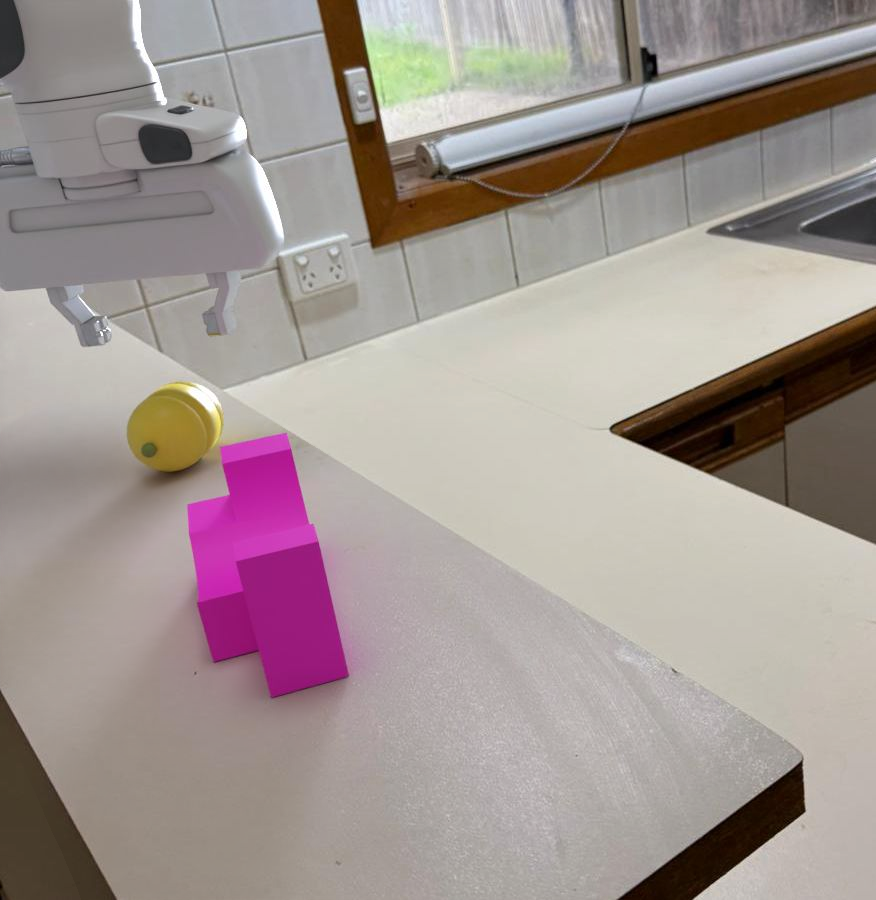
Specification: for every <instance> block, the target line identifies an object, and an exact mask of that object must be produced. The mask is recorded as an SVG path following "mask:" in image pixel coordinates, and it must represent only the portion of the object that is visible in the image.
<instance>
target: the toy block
mask: <svg viewBox="0 0 876 900" xmlns="http://www.w3.org/2000/svg"><path fill="white" fill-rule="evenodd" d="M219 450H220V457H221V465H222V469H223V473H224V478H225V481H226V486H227V489H228V494H227V495H223V496H217V497H213V498H209V499H205V500H200V501H195V502H191V503H188V504H186V505H187V506H186V508H187V510H186V511H187V526H188V528H187V529H188V537H189V541H190V547H191V551H192V557H193V562H194V569H195V576H196V583H197V602H196V605H197V610H198V613H199V617H200V620H201V623H202V626H203V631H204V634H205V639H206V641H207V644H208V648H209V649H208V650H209V652H210V655H211V659H212V662H213V663H216V662H219V661H224V660H226V659H227V660H228V659H230V658H234V657H238V656H242V655H246V654H251V653H253V652H258V653H259V656H260V660H261V664H262V668H263V672H264V676H265V680H266V683H267V687H268V691H269V695H270V698H271V699H272V698H275V697H279V696H283V695H286V694H289V693H290V694H291V693H293V692H297V691H301V690H304V689H307V688H311V687H315V686H318V685H322V684H325V683H329V682H333V681H336V680H340V679H344V678H346V677H349V676H350V673H349V670H348V665H347V661H346V657H345V652H344V649H343V644H342V639H341V634H340V629H339V626H338V621H337V617H336V613H335V607H334V603H333V599H332V594H331V591H330V585H329V582H328V577H327V572H326V567H325V563H324V559H323V554H322V550H321V545H320V540H319V538H318V534H317V530H316V528H315V524H314V523H310V521H309V517H308V514H307V513H308V512H307V509H306V505H305V501H304V497H303V491H302V487H301V485H300V480H299V476H298V471H297V467H296V463H295V459H294V455H293V450H292V446H291V443H290V440H289V436H288V433H287V432H282V433H278V434H274V435H269V436H264V437H260V438H256V439H255V438H254V439H250V440H246V441H241V442H237V443H231V444H227V445H222V446H219Z"/></svg>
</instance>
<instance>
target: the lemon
mask: <svg viewBox="0 0 876 900" xmlns="http://www.w3.org/2000/svg"><path fill="white" fill-rule="evenodd" d="M224 424H225V416H224V411H223V408H222V404H221V402H220V401H219V399H218V397H217V396H216V395H215V394H214V393H213V392H212V391H211V390H210V389H209V388H207V387H205V386H203V385H201V384H199V383H196V382H193V381H187V380H179V381H173V382H169V383H167V384H164V385H163V386H161V387H159V388H158V389H156V390H155V391H153V393H152V392H151V394H150V395H148V396H147V397H146V398H145V399H143V400H142V401H141V402H140V403H139V404H138V405H137V406H136V407H135V408H134V410H132V412H131V414H130V416H129V418H128V421H127V424H126V439H127V444H128V447H129V449H130V451H131V452H132V454H133V455H134V457H135V458H136V459H137V460H138V461H139V462H141V463H142V464H143V465H144V466H146V467H148V468H150V469H153V470H155V471H159V472H167V473H168V472H169V473H170V472H171V473H174V472H179V471H182V470H185V469H187V468H190V467H191V466H192V465H194V464H195V463H197V462H199V461H200V459H202V458H203V457H204V456H205V455H206V454H207V453H208V451H210V450H211V448H213V447H214V445H215V444H216V443H217V442H218V440H219V438H220V437H221V435H222V434H223V433H222V432H223V430H224V426H225V425H224Z"/></svg>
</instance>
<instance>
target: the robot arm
mask: <svg viewBox="0 0 876 900" xmlns="http://www.w3.org/2000/svg"><path fill="white" fill-rule="evenodd" d="M141 20H142V15H141V7H140V1H139V0H0V87H4V88H6V89H7V90H8V91H9V92H10V95H11V97H12V101H13V103H14V108H15V110H16V113H17V117H18V120H19V123H20V126H21V129H22V132H23V135H24V138H25V139H24V140H25V142H26V144H27V145H25V146H18V147H13V148H9V149H3V150H0V289H1V290H2V291H4V292H18V291H30V290H41V289H45V290H46V293H47V298H48V299H49V302H50V304H51V305H52V306H53V308H55V310H57V312H59V313H60V315H61V316H63V317H64V318H65V320H67V321H68V323H70V324H71V325H72V326H73V327H74V329H75V332H76V335H77V339H78V342H79V344H80V346H81V347H82V348H91V347H101V346H106V344H108V343H109V342H111V340H112V338H113V337H112V335H113V334H112V331H111V329H110V328H108V327H109V321H108V318H107V315H95V314H94V312H93V311H92V310H91V309H90V307H89V306H88V305H87V304H86V303H85V302H84V301H83V299H82V298H81V297H80V295H82V294H83V293H84V292H85V291H84V287H83V286H86V285H96V284H97V285H98V284H108V283H116V282H128V281H138V280H139V281H140V280H151V279H160V278H172V277H183V276H195V275H205V276H206V279H207V283H208V287H209V288H210V289H212V290H213V289H218V290H217V293H216V297H215V301H214V305H211V307H209V308H208V309H207V310H205V311H204V312H202V313H201V316H202V317H201V318H202V320H203V324H204V325H205V326H206V328H205V332H206V334H207V336H208V337H209V338H211V337H226V336H231V335H232V334H234V333H235V332H236V330H237V326H238V324H237V319H236V316H235V313H234V308H233V305H234V303H235V301H236V297H237V293H238V292H239V291H238V290H239V287H240V284H241V281H242V276H241V271H251V270H261V269H262V268H264V267H267V266H268V265H270V264H271V263H272V262H274V261H275V259H277V258H278V257H279V255H280V253H281V251H282V249H283V247H284V244H285V235H284V230H283V226H282V225H283V224H282V221H281V218H280V214H279V210H278V207H277V204H276V200H275V198H274V194H273V192H272V189H271V187H270V184H269V182H268V178H267V176H266V174H265V172H264V170H263V168H262V166H261V165H260V163H259V162H258V160H257V159H256V158H255V157H253V155H251V154H250V153H249V152H247V151H246V150H242V149H239V147H240V146H242V145H243V144H244V143H246V142H247V141H246V140H247V138H248V137H247V136H248V135H247V128H246V124H245V122H244V119H243V118H242V116H240V115H239V114H238V113H236V112H233V111H229V110H224V109H219V108H216V107H210V106H207V105H201V104H196V103H191V102H187V101H183V100H179V99H175V98H172V97H166V96H164V93H163V89H162V85H161V81H160V78H159V75H158V72H157V70H156V68H155V66H154V65H153V63H152V62H151V60H150V57H149V55H148V54H147V52H146V48H145V46H144V43H143V37H142V29H141V27H142V26H141V22H142V21H141Z"/></svg>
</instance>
